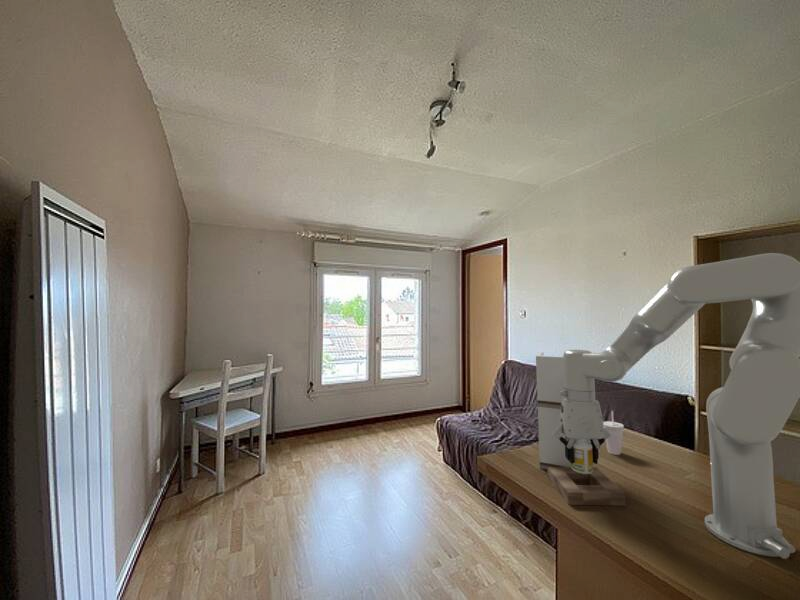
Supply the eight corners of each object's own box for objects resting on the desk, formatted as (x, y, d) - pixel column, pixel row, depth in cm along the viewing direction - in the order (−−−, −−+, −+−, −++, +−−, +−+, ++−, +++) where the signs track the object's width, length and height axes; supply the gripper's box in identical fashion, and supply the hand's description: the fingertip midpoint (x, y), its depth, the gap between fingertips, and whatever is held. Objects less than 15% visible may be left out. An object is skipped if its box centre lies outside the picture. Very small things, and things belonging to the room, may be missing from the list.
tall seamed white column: (578, 476, 98) (573, 357, 100) (539, 468, 104) (535, 356, 105) (579, 461, 108) (575, 353, 110) (544, 454, 114) (540, 352, 115)
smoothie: (625, 451, 115) (623, 410, 116) (625, 458, 110) (623, 415, 110) (603, 447, 119) (601, 407, 119) (603, 454, 113) (601, 412, 114)
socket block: (625, 505, 83) (625, 493, 83) (568, 504, 84) (568, 492, 84) (596, 477, 97) (596, 467, 97) (547, 477, 98) (547, 466, 98)
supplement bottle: (587, 465, 93) (586, 430, 94) (597, 474, 88) (595, 437, 88) (567, 465, 94) (566, 430, 94) (575, 474, 89) (574, 437, 89)
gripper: (553, 398, 89) (555, 467, 88) (619, 398, 87) (622, 468, 87) (542, 391, 96) (544, 455, 95) (604, 391, 95) (606, 456, 94)
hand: (581, 460), depth 91 cm, fingers closed on supplement bottle, 5 cm apart
